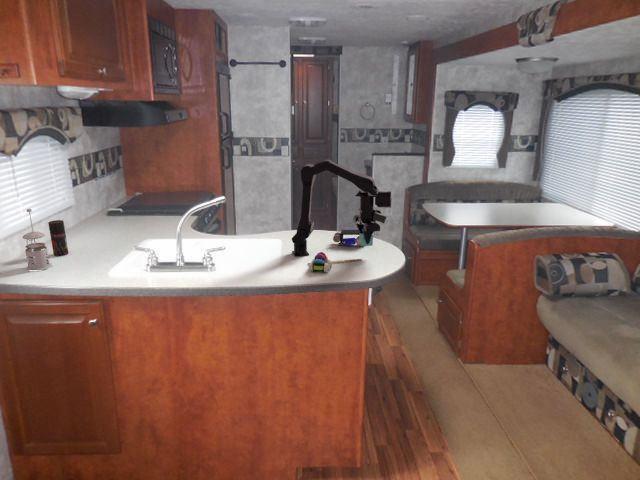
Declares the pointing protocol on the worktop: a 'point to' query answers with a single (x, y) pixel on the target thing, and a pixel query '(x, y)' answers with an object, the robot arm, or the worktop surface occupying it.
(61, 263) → the worktop surface
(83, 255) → the worktop surface
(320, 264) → the multicolored white-lobed toy
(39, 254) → the french press
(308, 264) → the brown segmented strip
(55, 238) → the deodorant
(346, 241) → the figurine character
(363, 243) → the teal cube
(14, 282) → the worktop surface
